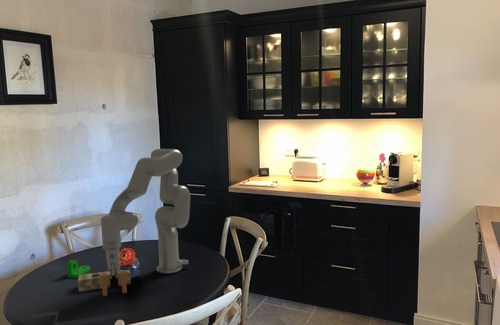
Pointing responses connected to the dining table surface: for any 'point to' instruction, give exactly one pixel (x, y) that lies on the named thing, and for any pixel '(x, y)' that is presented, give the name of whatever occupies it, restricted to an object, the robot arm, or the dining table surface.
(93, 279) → the rail
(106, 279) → the brown piece
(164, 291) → the dining table surface
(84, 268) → the mechanical part
